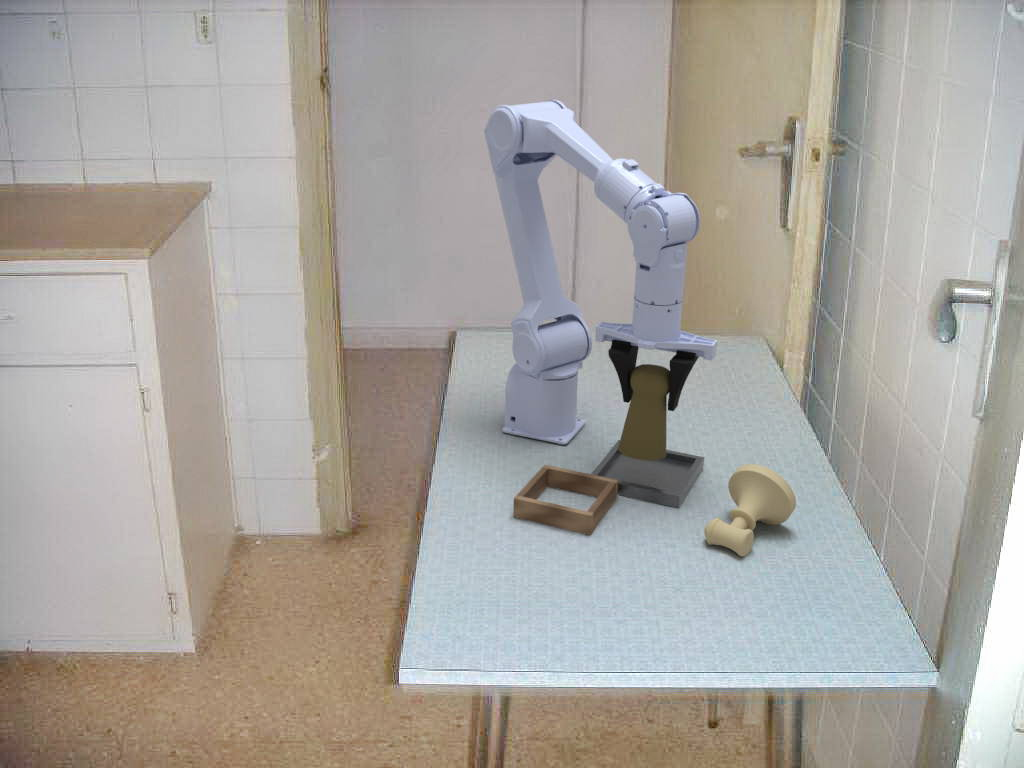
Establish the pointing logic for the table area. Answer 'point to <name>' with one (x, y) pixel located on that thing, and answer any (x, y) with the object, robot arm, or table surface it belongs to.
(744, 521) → the door knob
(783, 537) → the table surface
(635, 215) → the robot arm
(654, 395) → the olive peg figure
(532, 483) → the walnut stand
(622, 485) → the grey square tray
